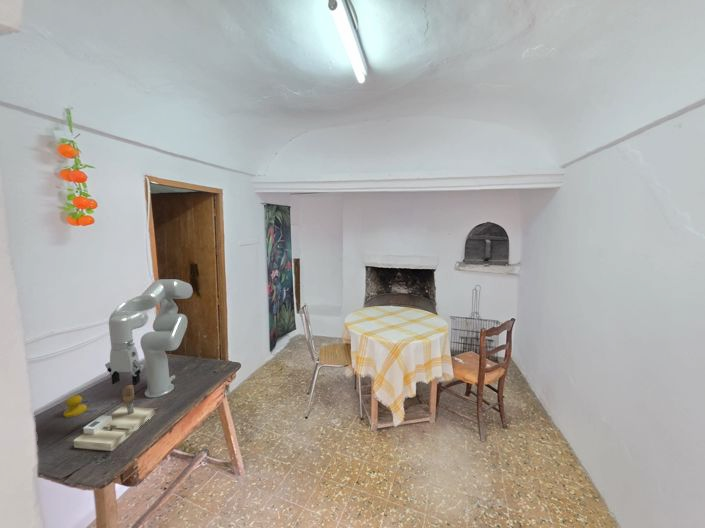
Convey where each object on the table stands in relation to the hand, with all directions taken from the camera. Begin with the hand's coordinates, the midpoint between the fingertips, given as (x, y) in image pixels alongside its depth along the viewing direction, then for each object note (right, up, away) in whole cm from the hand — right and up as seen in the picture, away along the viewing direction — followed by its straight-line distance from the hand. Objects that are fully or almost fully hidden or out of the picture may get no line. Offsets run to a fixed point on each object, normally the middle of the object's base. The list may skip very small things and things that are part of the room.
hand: (126, 383), depth 133 cm
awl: (0, -14, +3) cm, 14 cm away
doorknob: (-30, -17, +8) cm, 35 cm away
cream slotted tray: (-1, -18, -4) cm, 19 cm away
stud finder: (-7, -16, -7) cm, 18 cm away
